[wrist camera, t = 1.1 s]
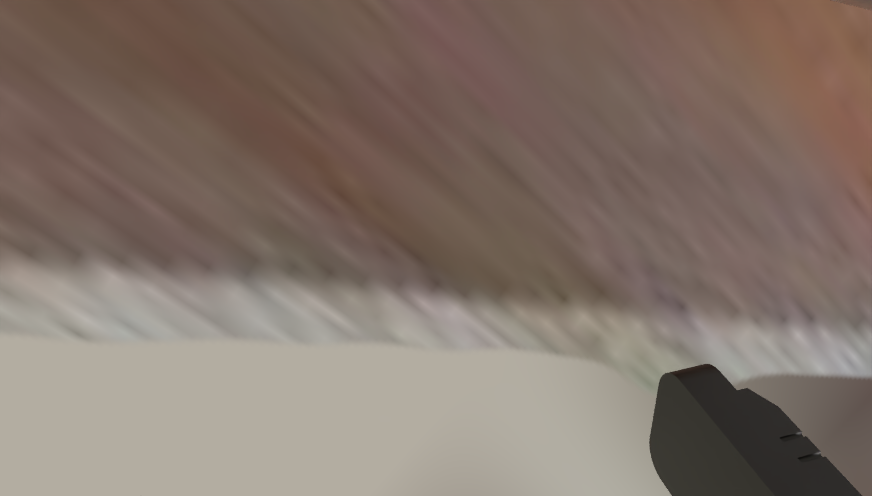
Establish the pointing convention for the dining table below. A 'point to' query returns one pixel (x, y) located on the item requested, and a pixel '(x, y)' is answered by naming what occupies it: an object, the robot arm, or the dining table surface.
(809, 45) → the dining table surface
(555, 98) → the dining table surface
